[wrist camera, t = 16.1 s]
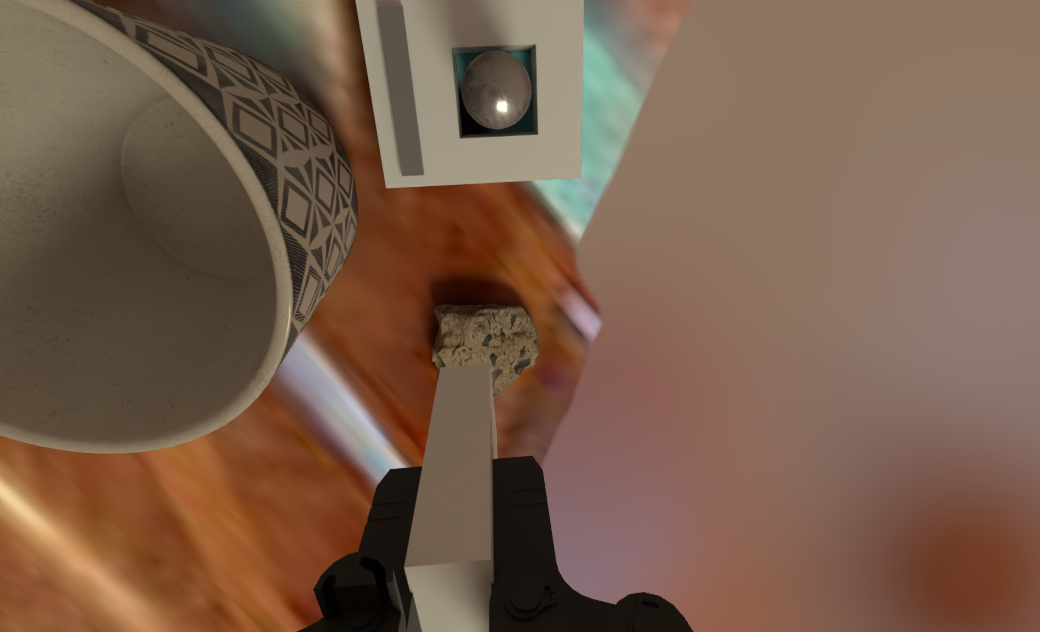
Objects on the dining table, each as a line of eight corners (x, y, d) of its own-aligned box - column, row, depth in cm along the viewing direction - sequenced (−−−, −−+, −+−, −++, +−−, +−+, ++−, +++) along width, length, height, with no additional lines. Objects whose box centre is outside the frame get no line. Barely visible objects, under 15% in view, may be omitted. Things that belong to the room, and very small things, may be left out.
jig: (370, 5, 38) (352, -9, 33) (572, -2, 39) (585, -17, 34) (396, 179, 44) (384, 189, 39) (571, 170, 45) (582, 178, 40)
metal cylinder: (466, 65, 40) (457, 52, 30) (519, 63, 41) (530, 49, 30) (470, 123, 42) (464, 130, 32) (521, 121, 43) (532, 127, 32)
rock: (531, 382, 55) (534, 404, 51) (433, 379, 54) (429, 401, 50) (541, 298, 51) (545, 316, 47) (434, 293, 50) (429, 310, 46)
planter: (197, -53, 36) (-163, -243, 16) (433, 201, 45) (390, 280, 25) (26, 171, 42) (-391, 235, 22) (266, 355, 51) (126, 515, 31)
